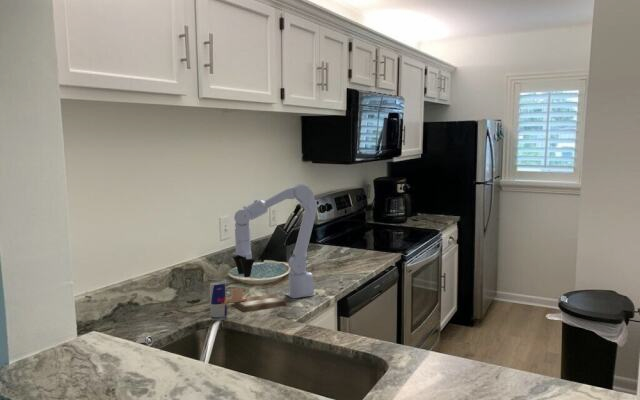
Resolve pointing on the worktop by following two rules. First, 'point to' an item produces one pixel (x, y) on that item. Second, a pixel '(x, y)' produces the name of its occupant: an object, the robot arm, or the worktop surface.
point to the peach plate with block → (236, 296)
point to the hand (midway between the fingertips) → (244, 275)
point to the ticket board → (260, 302)
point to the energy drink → (218, 301)
